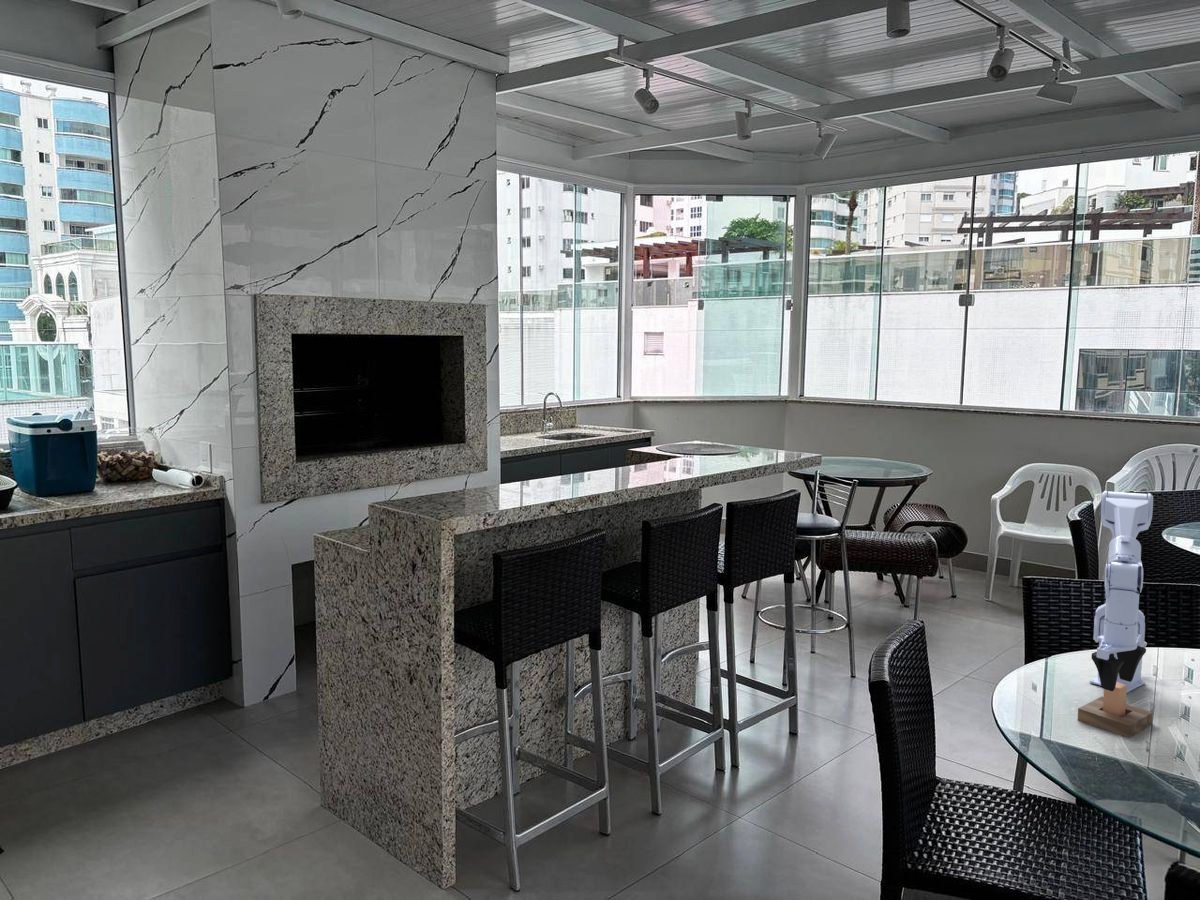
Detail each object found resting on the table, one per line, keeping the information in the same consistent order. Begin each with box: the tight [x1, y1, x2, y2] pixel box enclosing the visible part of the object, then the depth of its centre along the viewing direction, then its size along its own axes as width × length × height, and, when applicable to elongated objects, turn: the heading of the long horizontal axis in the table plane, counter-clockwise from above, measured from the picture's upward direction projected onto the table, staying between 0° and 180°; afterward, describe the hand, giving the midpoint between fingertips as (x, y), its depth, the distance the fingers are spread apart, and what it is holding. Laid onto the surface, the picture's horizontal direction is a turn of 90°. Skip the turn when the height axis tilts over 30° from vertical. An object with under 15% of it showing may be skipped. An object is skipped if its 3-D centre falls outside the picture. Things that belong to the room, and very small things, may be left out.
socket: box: [1077, 695, 1154, 738], centre depth 180 cm, size 10×10×2 cm
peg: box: [1103, 682, 1128, 717], centre depth 179 cm, size 3×3×8 cm
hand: (1116, 684), depth 179 cm, fingers open, 7 cm apart
